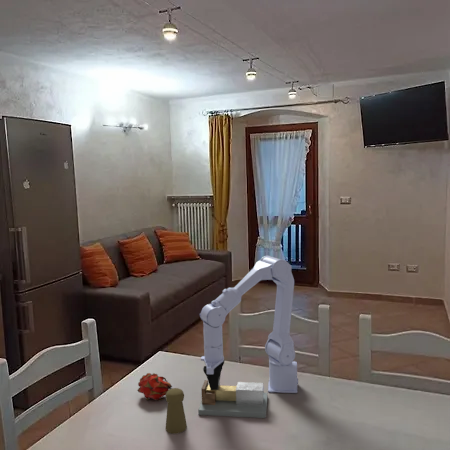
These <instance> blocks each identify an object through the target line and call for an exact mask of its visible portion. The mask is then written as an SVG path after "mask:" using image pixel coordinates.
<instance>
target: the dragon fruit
mask: <svg viewBox="0 0 450 450" xmlns="http://www.w3.org/2000/svg"><path fill="white" fill-rule="evenodd" d="M168 381H169V380H167V378H165V377H164V376H159V374H157V373H154V372H153V373H150V372H147V373H146V374H145V375H142V377H141V378H140V379H139V382H138V384H137V385H138V389H137V390H136V391H137V392H138V393H141V394H143V395H144V398H145V400H146V401H149V400H150V399H152V400H154V401H157V402H159V401H164V400H165V398H164V396H166V393H167V391H168V390H170V389H173V386H172V384H171V383H170V382H168Z"/></svg>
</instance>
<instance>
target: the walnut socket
mask: <svg viewBox="0 0 450 450" xmlns="http://www.w3.org/2000/svg"><path fill="white" fill-rule="evenodd" d="M207 385H209V382H208V379H206V380H204V381H203V384H202V386H201V401H202V404H203V405H215V403H216V400H215V393H209V392H206V387H207Z"/></svg>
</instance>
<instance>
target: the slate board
mask: <svg viewBox="0 0 450 450" xmlns="http://www.w3.org/2000/svg"><path fill="white" fill-rule="evenodd" d="M267 409H268V392H264V401H263V407H259V406H237V405H236V401H223V400H216V403H215V405H203V404H202V400H201V402H200V405H199V407H198V411H197V412H198V415H199V416H214V417H215V416H217V417H218V416H220V417H221V416H222V417H236V418H237V417H238V418H256V419H257V418H259V419H266V418H267Z"/></svg>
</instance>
